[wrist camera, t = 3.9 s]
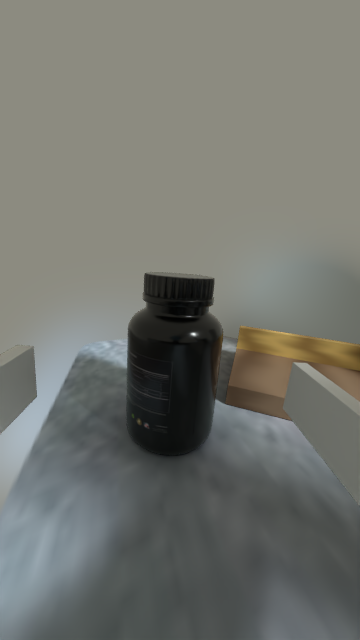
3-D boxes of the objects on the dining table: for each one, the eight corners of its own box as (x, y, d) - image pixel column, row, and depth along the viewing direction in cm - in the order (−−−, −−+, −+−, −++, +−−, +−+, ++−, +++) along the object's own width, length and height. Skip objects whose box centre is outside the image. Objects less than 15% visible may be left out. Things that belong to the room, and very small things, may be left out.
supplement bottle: (163, 392, 23) (173, 271, 20) (225, 423, 20) (247, 279, 17) (105, 427, 18) (108, 268, 15) (176, 479, 14) (196, 280, 11)
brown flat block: (383, 388, 29) (395, 350, 27) (466, 464, 17) (493, 405, 16) (235, 358, 33) (240, 325, 32) (225, 403, 22) (232, 355, 21)
